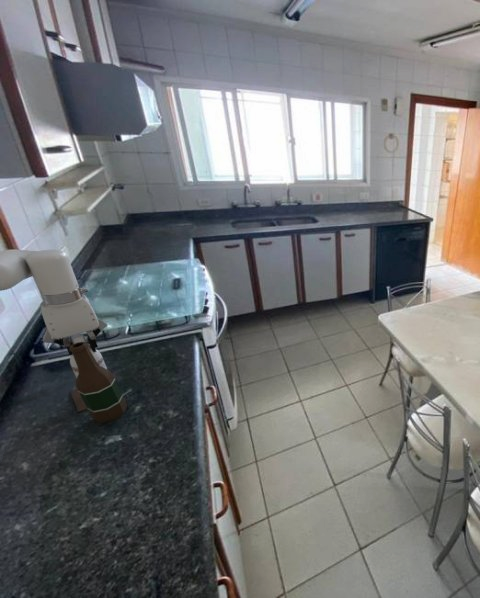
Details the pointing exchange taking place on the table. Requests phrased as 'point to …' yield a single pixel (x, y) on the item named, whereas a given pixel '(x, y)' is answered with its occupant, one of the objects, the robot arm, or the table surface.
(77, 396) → the brown flat square slab
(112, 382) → the beer bottle
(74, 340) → the bath foam
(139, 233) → the table surface
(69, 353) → the robot arm
